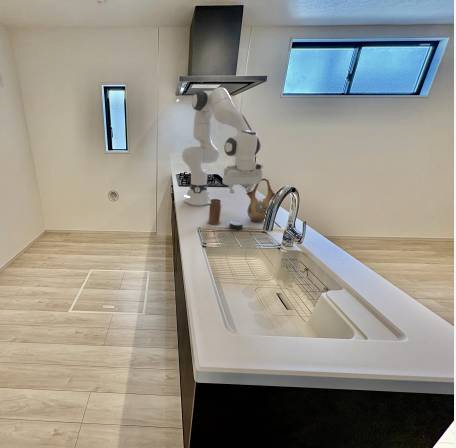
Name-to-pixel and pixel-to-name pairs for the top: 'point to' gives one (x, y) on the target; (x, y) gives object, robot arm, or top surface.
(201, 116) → the robot arm
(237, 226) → the jar lid
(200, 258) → the top surface
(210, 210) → the coffee jar
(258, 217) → the ceramic vessel
